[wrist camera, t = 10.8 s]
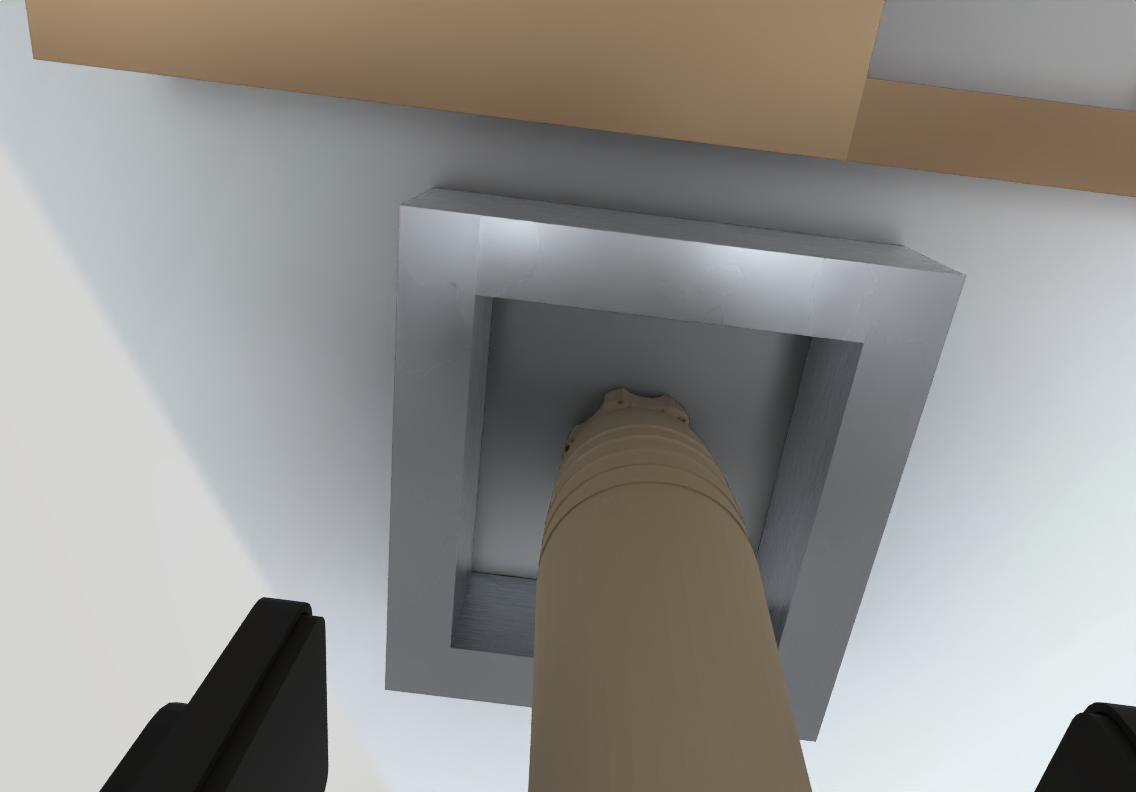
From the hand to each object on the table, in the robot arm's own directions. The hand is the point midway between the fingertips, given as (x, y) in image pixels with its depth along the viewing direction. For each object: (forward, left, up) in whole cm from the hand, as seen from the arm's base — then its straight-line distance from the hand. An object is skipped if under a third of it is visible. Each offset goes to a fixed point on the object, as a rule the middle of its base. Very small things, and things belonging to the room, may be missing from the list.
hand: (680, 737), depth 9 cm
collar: (+1, 0, -10) cm, 10 cm away
